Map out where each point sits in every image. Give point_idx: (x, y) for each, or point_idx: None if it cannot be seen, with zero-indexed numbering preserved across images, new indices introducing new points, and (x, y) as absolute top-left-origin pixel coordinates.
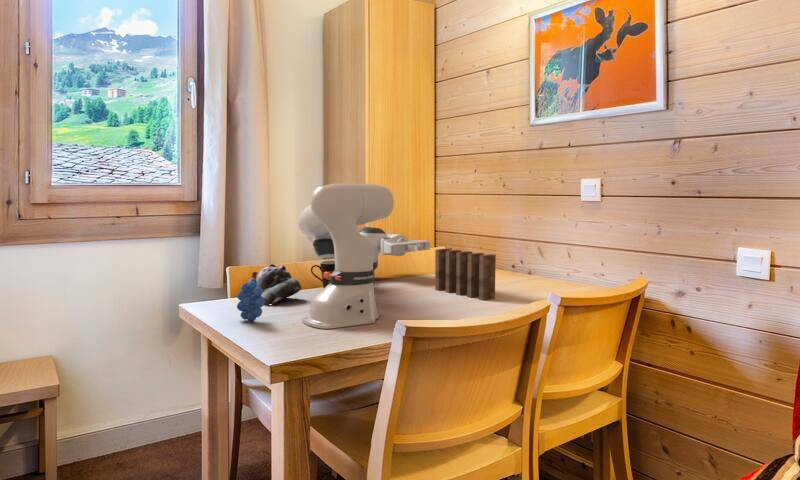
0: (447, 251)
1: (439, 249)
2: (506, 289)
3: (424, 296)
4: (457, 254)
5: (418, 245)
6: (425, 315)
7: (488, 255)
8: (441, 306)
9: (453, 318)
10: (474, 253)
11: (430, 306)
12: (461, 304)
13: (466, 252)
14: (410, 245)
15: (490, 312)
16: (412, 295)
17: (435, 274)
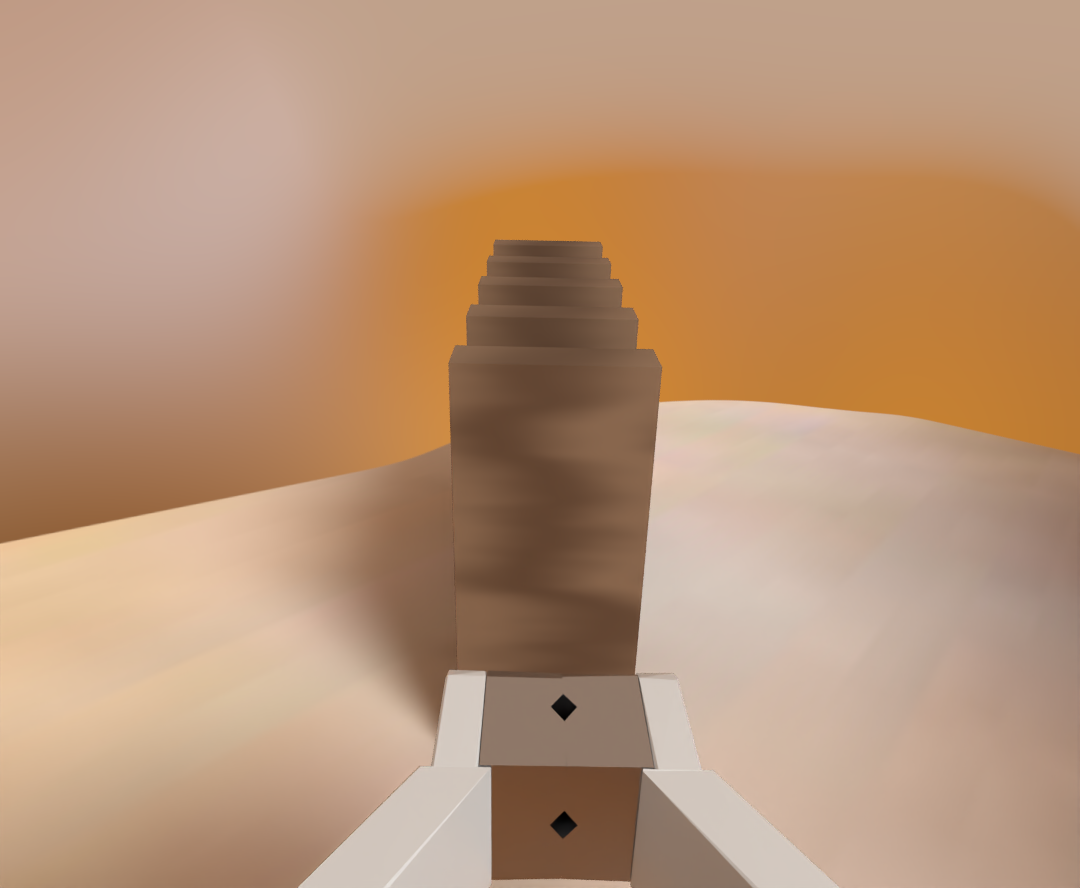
0: (635, 316)
1: (613, 358)
2: (208, 535)
3: (856, 654)
4: (620, 300)
5: (500, 759)
6: (995, 460)
7: (554, 241)
8: (859, 496)
9: (891, 418)
10: (552, 261)
11: (918, 514)
12: (739, 481)
13: (548, 279)
14: (817, 871)
15: (711, 408)
16: (950, 720)
17: (637, 634)
